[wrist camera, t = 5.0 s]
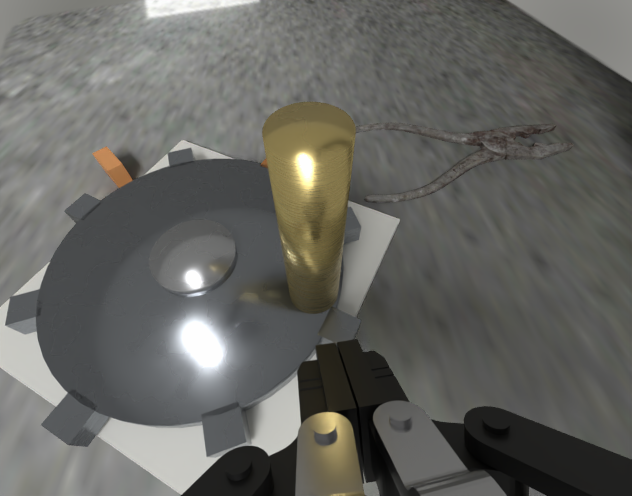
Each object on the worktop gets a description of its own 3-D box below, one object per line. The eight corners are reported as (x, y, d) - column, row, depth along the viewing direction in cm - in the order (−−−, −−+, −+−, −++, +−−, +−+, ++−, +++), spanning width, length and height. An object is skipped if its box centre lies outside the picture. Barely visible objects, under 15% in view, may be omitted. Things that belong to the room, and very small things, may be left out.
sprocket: (180, 132, 29) (104, -52, 19) (409, 214, 24) (478, 21, 14) (-56, 343, 19) (-501, 196, 9) (253, 566, 14) (55, 864, 3)
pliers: (325, 132, 30) (507, 86, 34) (325, 139, 31) (503, 93, 35) (372, 208, 25) (579, 144, 29) (371, 215, 26) (573, 152, 30)
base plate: (150, 134, 31) (140, 115, 29) (398, 225, 25) (403, 208, 23) (-67, 316, 21) (-99, 304, 20) (253, 540, 15) (245, 549, 14)
